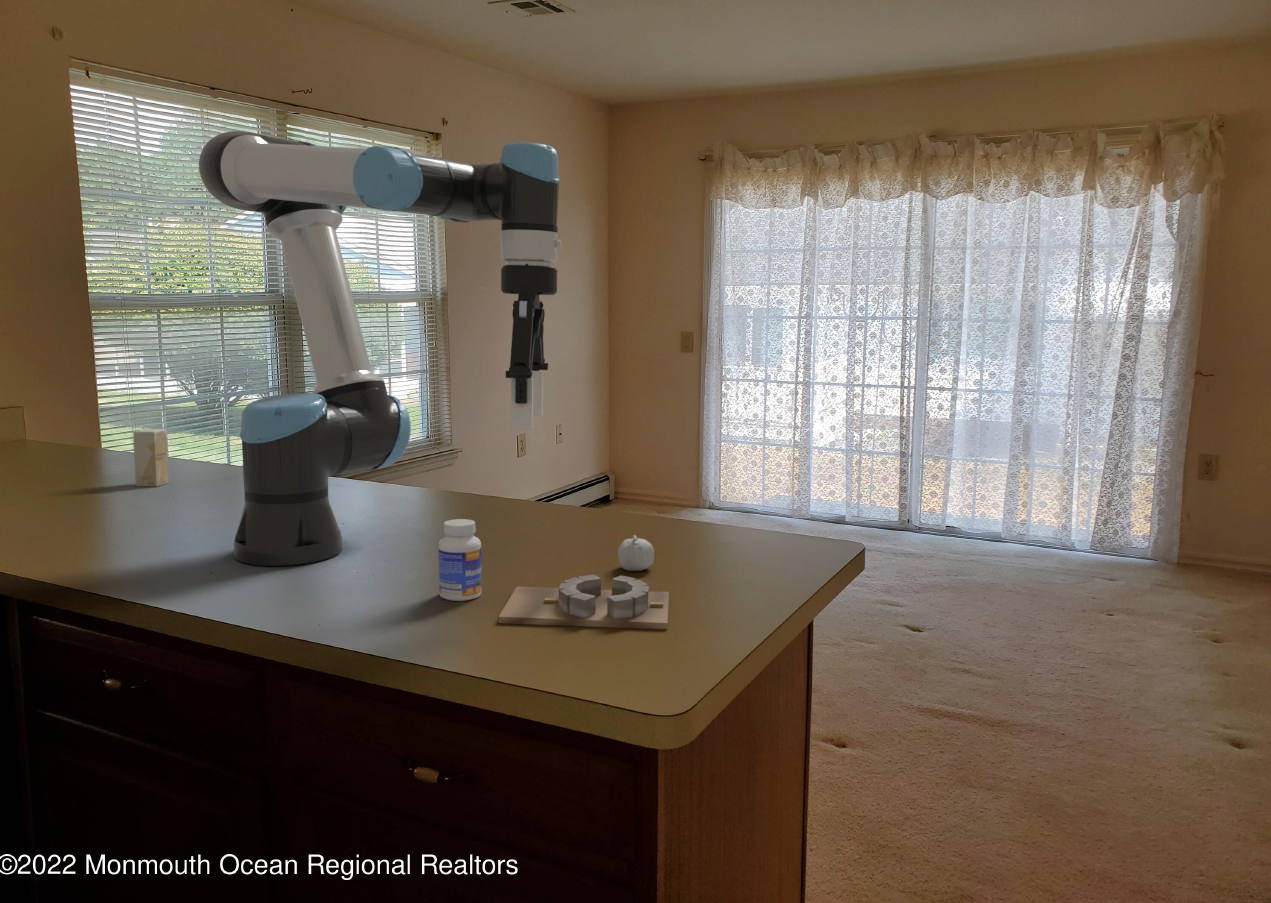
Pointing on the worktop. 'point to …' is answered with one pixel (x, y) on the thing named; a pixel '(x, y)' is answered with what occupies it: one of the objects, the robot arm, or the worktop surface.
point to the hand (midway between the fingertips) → (527, 421)
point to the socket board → (555, 616)
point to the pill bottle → (459, 561)
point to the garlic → (635, 554)
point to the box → (150, 457)
